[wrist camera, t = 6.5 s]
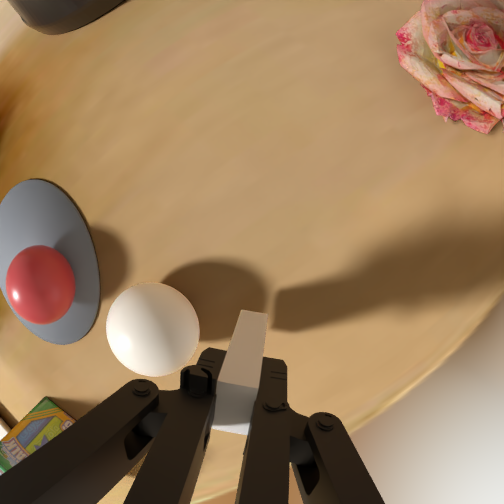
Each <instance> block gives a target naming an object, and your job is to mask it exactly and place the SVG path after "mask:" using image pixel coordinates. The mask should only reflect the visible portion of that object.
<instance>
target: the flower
mask: <svg viewBox="0 0 504 504" xmlns="http://www.w3.org/2000/svg"><path fill="white" fill-rule="evenodd" d="M396 36H397V37H398V39H399V41H400V42H401V44H402V45H399V44H397V53H398V57H399V63H400V65H401V67H403V68H404V69H405V70H406V71H407V72H409V73H410V74H411V75H412V76H413V77H414V78H415V79H416V80H418V81H419V82H420V83H421V84H420V85H421V86H422V87H423V88H425V89H426V91H427V95H428V96H430V97H431V98H432V101H433V107H434V108H435V111H436V115H441V116H443V118H444V121H445V122H447V119H448V117H450V118H451V119H452V120H454V121H456V120H460V119H462V120H463V122H464V123H465V125H467V126H468V127H470V128H472V129H474V130H476V131H478V132H482V133H486V134H488V133H489V132H490V131H491V129H492V128H493V127H494V125H495V124H496V123H497V122H498V121H500V120H501V122H502V123H503V126H504V0H424V1H423V3H422V5H421V10H420V11H419V12H417V13H416V14H414V15H413V16H412V17H411V18H410V19H409V20H408V21H407V22H406V23H405V25H404V26H403V27H402V28H401V29H400V30H398V31H397V33H396ZM432 58H433V60H432ZM407 67H408V68H407ZM414 70H415V71H414ZM422 84H423V85H422ZM427 84H428V85H427ZM426 91H425V92H426ZM503 132H504V128H503ZM503 132H502V133H503Z"/></svg>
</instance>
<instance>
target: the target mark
mask: <svg viewBox="0 0 504 504" xmlns="http://www.w3.org/2000/svg"><path fill="white" fill-rule="evenodd" d="M34 245H44V246H49V247H51V248H54V249H55V250H57V251H59V252H60V253H61V254H62V255H63V256H64V257H65V258H66V259H67V261H68V262H69V264H70V266H71V268H72V270H73V273H74V277H75V285H76V289H75V296H74V300H73V303H72V305H71V307H70V309H69V310H68V312H67V313H66V314H65V315H64V316H63V317H62V318H61V319H59V320H57V321H56V322H53V323H50V324H44V325H39V324H34V323H31V322H29V321H27V320H25V319H23V318H22V317H21V316H20V315H19V314H18V313H17V312H16V311H15V310H14V309H13V307H12V305H11V303H10V301H9V299H8V296H7V291H6V275H7V271H8V268H9V266H10V263H11V262H12V260H13V259H14V257H15V256H16V255H17V254H18V253H19V252H20V251H22V250H23V249H25V248H27V247H30V246H34ZM0 287H1V290H2V292H3V294H4V296H5V298H6V300H7V302H8V304H9V306H10V307H11V309H12V311H13V312H14V314H15V315H16V316H17V318H18V319H19V320H20V321H21V322H22V323H23V325H24V326H25V327H26V328H28V329H29V330H30V331H31V332H32V333H33V334H35V335H36V336H38V337H39V338H41V339H43V340H45V341H47V342H50V343H54V344H60V345H65V344H71V343H74V342H76V341H78V340H79V339H81V338H82V337H83V336H84V335H85V334H86V333H87V332H88V331H89V330H90V328H91V326H92V325H93V323H94V320H95V318H96V315H97V311H98V307H99V299H100V277H99V268H98V262H97V257H96V253H95V249H94V245H93V242H92V239H91V236H90V234H89V231H88V229H87V227H86V224H85V222H84V220H83V218H82V217H81V215H80V213H79V211H78V210H77V208H76V207H75V205H74V204H73V202H72V201H71V200H70V199H69V198H68V197H67V195H66V194H65V193H63V192H62V191H61V190H60V189H59V188H58V187H56V186H54V185H53V184H51V183H49V182H46V181H43V180H37V179H36V180H27V181H23V182H21V183H19V184H17V185H16V186H14V187H13V188H12V189H11V190H10V191H9V192H8V193H7V195H6V196H5V198H4V199H3V201H2V203H1V205H0Z"/></svg>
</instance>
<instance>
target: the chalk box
mask: <svg viewBox="0 0 504 504" xmlns="http://www.w3.org/2000/svg"><path fill="white" fill-rule="evenodd" d="M75 422H76V420H74V419H73V418H72V417H70V416H69V415H68V414H67V413H65V412H64V411H63V410H61V409H60V408H59V407H58V406H56V405H55V404H54V403H53V402H52V401H50V400H49V399H48V398H47V397H44V398H43V399H42V400H41V401H40V402H39V403H38V404H37V405H36V406H35V407H34V408H33V409H32V410H31V411H30V412H29V413H28V414H27V415H26V416H25V417H24V418H23V419H22V420H21V421H20V422H19V423H18V424H17V425H16V426H15V427H14V428H13V429H12V430H11V431H10V432H9V433H8V434H7V435H6V436H4V437H3V438H2V439H1V440H0V475H1V474H3V473H4V472H6V471H7V470H9V469H10V468H12V467H13V466H15V465H16V464H17V463H19V462H20V461H22V460H23V459H25V458H26V457H27V456H29V455H30V454H32V453H33V452H35V451H36V450H37V449H39V448H40V447H42V446H43V445H44V444H46V443H47V442H49V441H50V440H51V439H53V438H54V437H56V436H57V435H58V434H60V433H61V432H62V431H64V430H65V429H67V428H68V427H69V426H71V425H72V424H73V423H75Z"/></svg>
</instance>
